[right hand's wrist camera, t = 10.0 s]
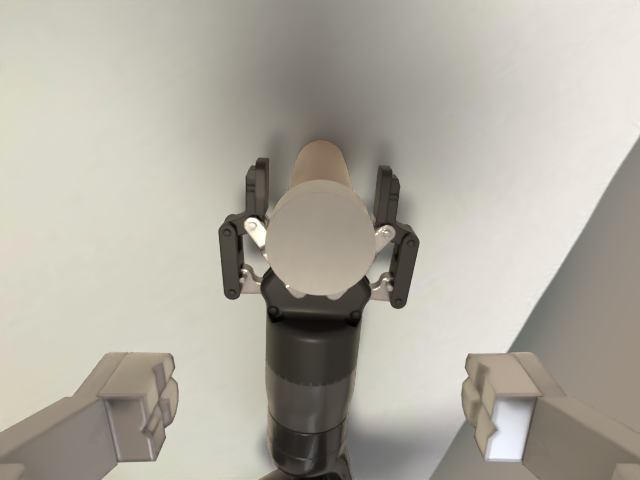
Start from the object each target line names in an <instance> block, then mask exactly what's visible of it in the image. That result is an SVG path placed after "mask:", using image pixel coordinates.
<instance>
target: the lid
mask: <svg viewBox="0 0 640 480" xmlns="http://www.w3.org/2000/svg"><path fill="white" fill-rule="evenodd" d="M265 250H266V256H267V259H268V262H269V264H270V266H271V268H272V269H273V271H274V272H275V274H276V275H277V276H278V277H279V278H280V279H281V280H282V281H283V282H284V283H285V284H287V285H288V286H290V287H291V288H293V289H295V290H297V291H300V292H303V293H306V294H311V295H331V294H335V293H339V292H341V291H344V290H346V289H348V288H350V287H352V286H353V285H355V284H356V283H357V282H358V281H360V280H361V279H362V278H363V276H364V275H365V274H366V273H367V271H368V270H369V268H370V266H371V264H372V262H373V260H374V257H375V252H376V235H375V230H374V227H373V224H372V221H371V219H370V216H369V213H368V210H367V208H366V206H365V204H364V202H363V201H362V200H361V198H360V197H359V196H358V195H357V194H356V193H355V192H354V191H352V190H351V189H350V188H348V187H346V186H345V185H343V184H340V183H338V182H334V181H330V180H311V181H307V182H304V183H301V184H299V185H297V186H295V187H293V188H291V189H290V190H289V191H287V192H286V193H285V194H284V195H283V196H282V197H281V199H280V200H279V201H278V203H277V205H276V206H275V209H274V211H273V214H272V216H271V219H270V222H269V225H268V228H267V232H266V236H265Z"/></svg>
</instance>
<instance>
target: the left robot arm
mask: <svg viewBox="0 0 640 480" xmlns="http://www.w3.org/2000/svg"><path fill="white" fill-rule="evenodd" d="M399 191H400V184H399V180H398V178H397V177H396V176H395V175H393V174H392V169H391V168H390V167H389V166H380V165H379V167H378V174H377V183H376V192H375V201H374V211H373V214H374V217H375V220H374V221H373V222H372V224H373V227H374V230H375V235H376V252H375V257H374V260H373V262H374V261H375V259H376V256H377V255H378V253H379V252H380V251H381V250H382V249H383V248H384V247H385V246H386V245H387V244H388V243H389V242H393V243H394V248H393V253H392V259H391V264H390V269H389V272H385V273H383V274H381V276H380V278H379V280H378V281H377V282H376V283H373V284H370V282H369V280H368V278H367V277H366V275H364V276H363V278H362V279H361V280H360V281H358V282H357V283H356V284H355V285H353V286H352V287H350V288H348V289H346V290H344V291H341V292H339V293H335V294H331V295H311V294H306V293H303V292H300V291H297V290H295V289H293V288H291V287H290V286H288V285H287V284H285V283H284V282H283V281H282V280H281V279H280V278H279V277H278V276H277V275H276V274H275V272H274V271H273V269H272V268H271V267H270V268H269V269H268V270H267V272H266V273H265V274H264V275H263V278H260V277H257V276H256V275H255V274H254V271H253V268H252V267H251V266H250V265H247V264H244V251H243V237H242V235H243V234H247V233H248V234H249V235H250V236H251V238H252V239H253V240H254V241H255V243H256V244H257V245H258V247H259V248H260V251H261V253H262V255H263V257H264V258H265V259H266V261H267V262H268V259H267V256H266V250H265V236H266V232H267V228H268V225H269V222H270V219H269V217H268V216H267V215H266V212H267V209H268V196H269V158H258V159H257V161H256V165H255V166H251V167H250V169H249V170H248V173H247V175H246V211H245V212H243V213H240V214H237V215H235V214H231V215H229V216H227V218H226V219H225V222H224V223H223V224H222V225H221V227H220V228H219V243H220V254H221V265H222V276H223V287H224V294H225V296H226V297H227V298H228V299H231V300H234V299H237V298H238V297H239V296H240V294H262V296H263V297H264V299H265V301H266V305H267V319H266V375H265V378H266V391H267V397H268V427H267V442H268V450H269V454H270V457H271V459H272V461H273V462H274V464H275V465H276V466H277V467H278V468H279V469H277V470H275V471H273V472H271V473H269V474H267V475H265V476H263V477H262V478H260V479H259V480H354V477H353V473H352V470H351V465H350V460H349V455H348V450H347V445H346V430H347V421H348V412H349V405H350V401H351V398H352V395H353V391H354V384H355V375H356V366H357V357H358V348H359V339H360V330H361V321H362V312H363V309H364V307H365V305H366V303H367V302H368V301H369V299H372V300H381V301H390V303H391V305H392V307H394V308H396V309H400V308H403V307H404V306H405V305H406V302H407V298H408V293H409V288H410V284H411V279H412V275H413V270H414V266H415V261H416V257H417V252H418V248H419V239H418V238H417V236H416V234H415V233H414V231H413V229H412V228H411V226H409V225H407V224H404V225H403V224H401V223H399V222H397V221H396V214H397V207H398V199H399ZM373 262H372V263H373ZM268 263H269V262H268ZM269 265H270V264H269Z"/></svg>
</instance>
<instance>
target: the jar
mask: <svg viewBox="0 0 640 480" xmlns="http://www.w3.org/2000/svg"><path fill="white" fill-rule="evenodd" d="M311 180H330V181H334V182H338V183H340V184H343V185H345V186H346V187H348V188H350V189H351V190H352V191H354V190H353V187H352V184H351V180H350V177H349V173H348V170H347V166H346V163H345V160H344V156H343V154H342V152H341V151H340V149H339V148H338V147H337V146H336V145H334V144H333V143H331V142H328V141H324V140H317V141H313V142H310V143H308V144H307V145H305V146H304V147H303V148H302V149H301V151H300V152H299V154H298V156H297V159H296V163H295V166H294V170H293V173H292V177H291V180H290V184H289V187H288V191H289V190H290V189H291V188H293V187H295V186H297V185H299V184H301V183H304V182H307V181H311Z"/></svg>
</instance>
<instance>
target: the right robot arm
mask: <svg viewBox="0 0 640 480" xmlns="http://www.w3.org/2000/svg"><path fill="white" fill-rule="evenodd" d="M174 369H175V364H174V359H173V356H172V355H171V354H170V353H133V352H131V353H128V352H110V353H108V354H105V355H104V356H103V358H102V359H101V360H100V362H99V363H98V364H97V365H96V367H95V368H94V369H93V371H92V372H91V373H90V374H89V376H88V377H87V378H86V380H85V381H84V382H83V383H82V385H81V386H80V387H79V389H78V390H77V391H76V392H75V394H74V395H73V396H72V397H65V398H63V399H61V400H59V401H57V402H55V403H54V404H52V405H50V406H48V407H46V408H44V409H43V410H41V411H39V412H37V413H35V414H34V415H32V416H30V417H28V418H26V419H24V420H23V421H21V422H19V423H17V424H15V425H13V426H12V427H10V428H8V429H6V430H4V431H2V432H1V433H0V480H101V479H102V478H103V477H104V476H105V475H106V474H108V473H109V472H110V471H111V470H112V469H113V468H114V467H115V466H116V465H117V462H147V461H156V459H157V457H158V455H159V452H160V450H161V448H162V445H163V443H164V441H165V438H166V435H165V428H166V427H167V426H169V425H170V424H171V423H172V422H173V419H174V417H175V415H176V411H177V406H178V384H177V382H176V381H175V380H174V379H173V378H172V377H171V375H172V373H173V371H174ZM465 369H466V371H467V373H468V375H469V377H468V378H467V379H466V380H465V381H464V382H463V384H462V393H461V396H462V407H463V411H464V415H465V417H466V420H467V422H468V423H469V424H470V425H471V426H473V427H474V428H475V435H474V438H475V441H476V443H477V445H478V448H479V450H480V452H481V455H482V457H483V459H484V461H493V462H523V465H524V466H525V467H526V468H527V469H528V470H529V471H530V472H532V473H533V474H534V475H535V476H536V477H537V478H538V479H539V480H640V433H639V432H637V431H636V430H634V429H632V428H630V427H628V426H626V425H625V424H623V423H621V422H619V421H617V420H615V419H614V418H612V417H610V416H608V415H606V414H605V413H603V412H601V411H599V410H597V409H595V408H594V407H592V406H590V405H588V404H586V403H585V402H583V401H581V400H579V399H577V398H575V397H568V396H567V395H566V394H565V392H564V391H563V390H562V389H561V387H560V386H559V385H558V384H557V382H556V381H555V380H554V378H553V377H552V376H551V375H550V373H549V372H548V371H547V369H546V368H545V367H544V366H543V364H542V363H541V362H540V361H539V359H538V358H537V357H536V355H535V354H533V353H531V352H518V353H494V354H468V356H467V358H466V364H465Z"/></svg>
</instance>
